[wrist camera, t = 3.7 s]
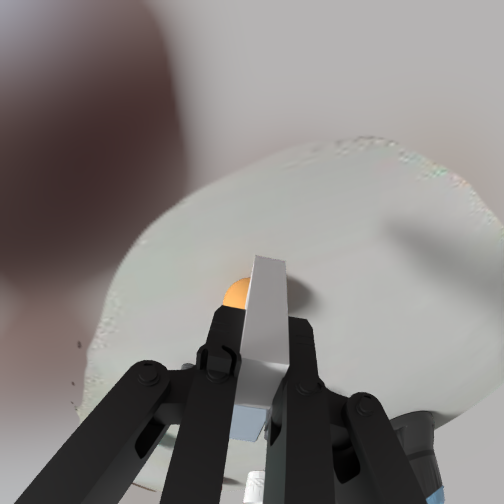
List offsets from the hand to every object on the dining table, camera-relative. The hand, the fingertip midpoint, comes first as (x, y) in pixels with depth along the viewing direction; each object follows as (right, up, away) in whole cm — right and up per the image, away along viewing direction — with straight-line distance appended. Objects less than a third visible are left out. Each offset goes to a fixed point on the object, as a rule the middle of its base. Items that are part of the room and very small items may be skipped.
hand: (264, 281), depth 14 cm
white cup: (+2, -58, +43) cm, 72 cm away
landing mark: (-6, -29, +30) cm, 42 cm away
